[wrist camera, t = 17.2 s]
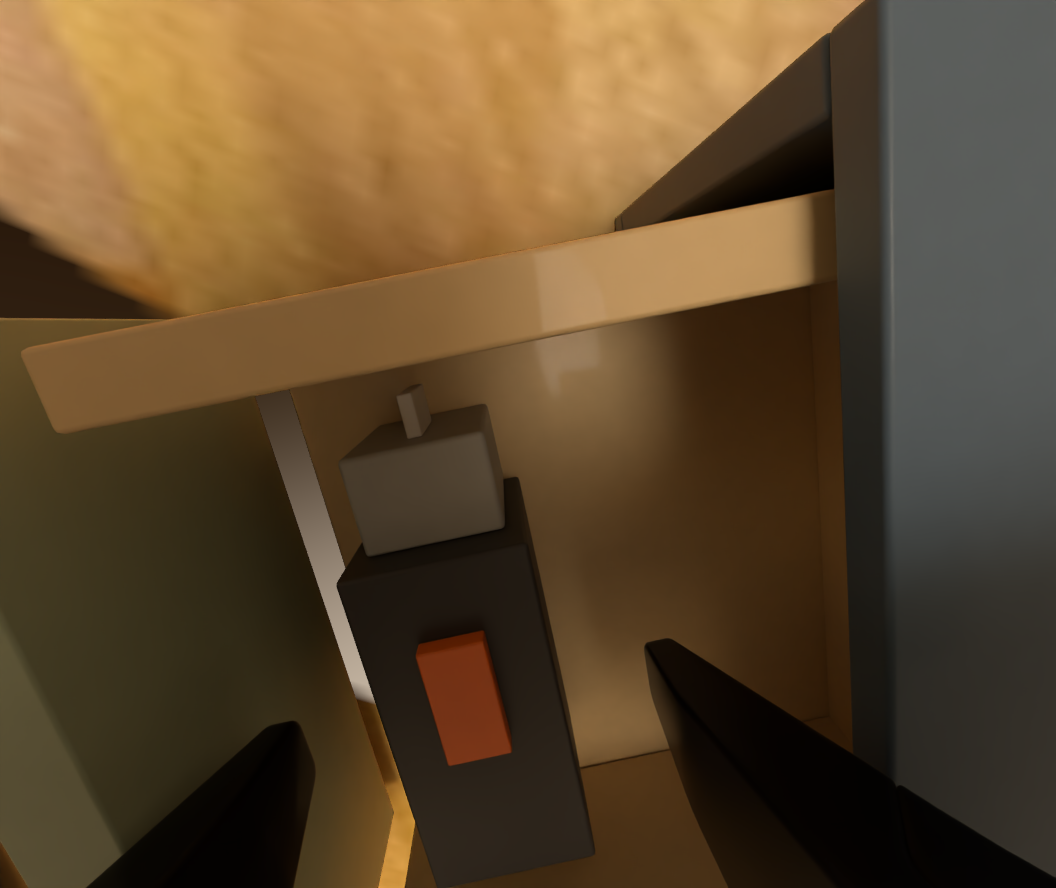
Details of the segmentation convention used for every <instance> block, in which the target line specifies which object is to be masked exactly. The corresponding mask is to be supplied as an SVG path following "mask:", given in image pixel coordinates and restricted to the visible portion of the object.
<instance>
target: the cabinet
mask: <svg viewBox="0 0 1056 888" xmlns="http://www.w3.org/2000/svg"><path fill="white" fill-rule="evenodd" d="M830 189H834V193H835V223H836V254H837V284H838V315H839V345H840V376H841V406H842V436H843V467H844V497H845V528H846V558H847V589H848V619H849V650H850V680H851V711H852V741H853V755H855V756H857V757H858V758H860V759H861V760H863V761H864V762H866V763H868V764H869V765H871V766H872V767H874V768H875V769H877V770H879V771H880V772H882V773H883V774H885V775H886V776H888V777H890V778H891V779H893V780H894V782H895V784H896V788H897V786H898V785H902V786H904V787H906V788H907V789H909V790H910V791H912V792H914V793H915V794H917V795H918V796H920V797H921V798H923V799H925V800H926V801H928V802H929V803H931V804H933V805H934V806H936V807H937V808H939V809H940V810H942V811H944V812H945V813H947V814H949V815H950V816H952V817H954V818H955V819H957V820H958V821H960V822H962V823H963V824H965V825H967V826H968V827H970V828H972V829H973V830H975V831H976V832H978V833H980V834H981V835H983V836H985V837H986V838H988V839H989V840H991V841H993V842H994V843H996V844H998V845H999V846H1001V847H1003V848H1004V849H1006V850H1008V851H1010V852H1011V853H1013V854H1015V855H1017V856H1018V857H1020V858H1022V859H1024V860H1025V861H1027V862H1029V863H1031V864H1033V865H1034V866H1036V867H1038V868H1040V869H1041V870H1043V871H1045V872H1047V873H1048V874H1050V875H1052V876H1054V877H1055V878H1056V0H865V1H864V2H862V3H861V4H860V5H859V6H858V7H857V8H856V9H854V10H853V11H852V12H851V13H850V14H849V15H848V16H846V17H845V18H844V19H843V20H842V21H841V22H840V23H838V24H837V25H836V26H835V27H834V28H833V30H832V32H831V33H827V34H826V35H824V36H823V37H822V38H820V39H819V40H818V41H817V42H816V43H815V44H814V45H812V46H811V47H810V48H809V49H808V50H807V51H806V52H804V53H803V54H802V55H801V56H800V57H799V58H798V59H796V60H795V61H794V62H793V63H792V64H791V65H790V66H788V67H787V68H786V69H785V70H784V71H783V72H782V73H780V74H779V75H778V76H777V77H776V78H775V79H774V80H772V81H771V82H770V83H769V84H768V85H767V86H766V87H765V88H763V89H762V90H761V91H760V92H759V93H758V94H757V95H755V96H754V97H753V98H752V99H751V100H750V101H749V102H747V103H746V104H745V105H744V106H743V107H742V108H741V109H739V110H738V111H737V112H736V113H735V114H734V115H733V116H731V117H730V118H729V119H728V120H727V121H726V122H725V123H723V124H722V125H721V126H720V127H719V128H718V129H717V130H715V131H714V132H713V133H712V134H711V135H710V136H709V137H708V138H706V139H705V140H704V141H703V142H702V143H701V144H700V145H698V146H697V147H696V148H695V149H694V150H693V151H692V152H690V153H689V154H688V155H687V156H686V157H685V158H684V159H682V160H681V161H680V162H679V163H678V164H677V165H676V166H674V167H673V168H672V169H671V170H670V171H669V172H668V173H666V174H665V175H664V176H663V177H662V178H661V179H660V180H658V181H657V182H656V183H655V184H654V185H653V186H652V187H651V188H649V189H648V190H647V191H646V192H645V193H644V194H643V195H641V196H640V197H639V198H638V199H637V200H636V201H635V202H633V203H632V204H631V205H630V206H629V207H628V208H627V209H625V210H624V211H623V212H622V213H621V214H620V215H619V216H618V217H617V218H616V219H615V225H616V232H617V231H622V230H627V229H632V228H637V227H642V226H648V225H653V224H658V223H663V222H668V221H673V220H678V219H683V218H688V217H693V216H698V215H703V214H708V213H714V212H719V211H724V210H729V209H734V208H739V207H744V206H749V205H754V204H759V203H764V202H769V201H775V200H780V199H785V198H790V197H795V196H800V195H805V194H810V193H815V192H820V191H825V190H830Z"/></svg>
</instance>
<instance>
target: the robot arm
mask: <svg viewBox="0 0 1056 888" xmlns="http://www.w3.org/2000/svg"><path fill="white" fill-rule="evenodd" d="M644 654H645V661H646V667H647V673H648V680H649V686H650V691H651V695H652V699H653V702H654V705H655V708H656V711H657V714H658V717H659V720H660V722H661V725H662V728H663V731H664V734H665V736H666V739H667V742H668V745H669V748H670V751H671V753H672V756H673V759H674V762H675V765H676V768H677V770H678V773H679V776H680V779H681V782H682V785H683V787H684V790H685V793H686V795H687V798H688V801H689V803H690V806H691V808H692V811H693V813H694V815H695V818H696V820H697V822H698V824H699V827H700V829H701V831H702V833H703V835H704V837H705V840H706V842H707V844H708V846H709V848H710V850H711V852H712V854H713V857H714V859H715V861H716V863H717V865H718V867H719V869H720V871H721V873H722V876H723V878H724V880H725V882H726V884H727V886H728V888H1056V878H1055V877H1054V876H1052V875H1050V874H1048V873H1047V872H1045V871H1043V870H1041V869H1040V868H1038V867H1036V866H1034V865H1033V864H1031V863H1029V862H1027V861H1025V860H1024V859H1022V858H1020V857H1018V856H1017V855H1015V854H1013V853H1011V852H1010V851H1008V850H1006V849H1004V848H1003V847H1001V846H999V845H998V844H996V843H994V842H993V841H991V840H989V839H988V838H986V837H985V836H983V835H981V834H980V833H978V832H976V831H975V830H973V829H972V828H970V827H968V826H967V825H965V824H963V823H962V822H960V821H958V820H957V819H955V818H954V817H952V816H950V815H949V814H947V813H945V812H944V811H942V810H940V809H939V808H937V807H936V806H934V805H933V804H931V803H929V802H928V801H926V800H925V799H923V798H921V797H920V796H918V795H917V794H915V793H914V792H912V791H910V790H909V789H907V788H906V787H904V786H902V785H898V786H897V788H896V784H895V782H894V780H893V779H891V778H890V777H888V776H886V775H885V774H883V773H882V772H880V771H879V770H877V769H875V768H874V767H872V766H871V765H869V764H868V763H866V762H864V761H863V760H861V759H860V758H858V757H857V756H855V755H853V754H852V753H850V752H849V751H847V750H846V749H844V748H843V747H841V746H839V745H838V744H836V743H835V742H833V741H832V740H830V739H828V738H827V737H825V736H824V735H822V734H821V733H819V732H817V731H816V730H814V729H813V728H811V727H810V726H808V725H806V724H805V723H803V722H802V721H800V720H799V719H797V718H795V717H794V716H792V715H791V714H789V713H788V712H786V711H784V710H783V709H781V708H780V707H778V706H777V705H775V704H773V703H772V702H770V701H769V700H767V699H766V698H764V697H762V696H761V695H759V694H758V693H756V692H755V691H753V690H751V689H750V688H748V687H747V686H745V685H744V684H742V683H740V682H739V681H737V680H736V679H734V678H733V677H731V676H729V675H728V674H726V673H725V672H723V671H722V670H720V669H718V668H717V667H715V666H714V665H712V664H711V663H709V662H707V661H706V660H704V659H703V658H701V657H700V656H698V655H696V654H695V653H693V652H692V651H690V650H689V649H687V648H685V647H684V646H682V645H681V644H679V643H678V642H676V641H674V640H673V639H670V638H664V639H659V640H655V641H650V642H647V643H646V644H645V646H644ZM315 778H316V767H315V762H314V759H313V756H312V753H311V751H310V748H309V745H308V743H307V740H306V737H305V735H304V732H303V729H302V727H301V725H300V724H299V723H298V722H297V721H294V720H291V721H287V722H282V723H278V724H273V725H270V726H268V727H266V728H265V729H264V730H263V731H261V732H260V733H259V734H258V735H257V736H256V737H255V738H254V739H252V740H251V741H250V742H249V743H248V744H247V745H246V746H245V747H243V748H242V749H241V750H240V751H239V752H238V753H237V754H236V755H234V756H233V757H232V758H231V759H230V760H229V761H228V762H227V763H225V764H224V765H223V766H222V767H221V768H220V769H219V770H218V771H216V772H215V773H214V774H213V775H212V776H211V777H210V778H209V779H207V780H206V781H205V782H204V783H203V784H202V785H201V786H200V787H198V788H197V789H196V790H195V791H194V792H193V793H192V794H191V795H189V796H188V797H187V798H186V799H185V800H184V801H183V802H182V803H180V804H179V805H178V806H177V807H176V808H175V809H174V810H173V811H171V812H170V813H169V814H168V815H167V816H166V817H165V818H164V819H162V820H161V821H160V822H159V823H158V824H157V825H156V826H155V827H153V828H152V829H151V830H150V831H149V832H148V833H147V834H146V835H144V836H143V837H142V838H141V839H140V840H139V841H138V842H137V843H135V844H134V845H133V846H132V847H131V848H130V849H129V850H128V851H126V852H125V853H124V854H123V855H122V856H121V857H120V858H119V859H117V860H116V861H115V862H114V863H113V864H112V865H111V866H110V867H108V868H107V869H106V870H105V871H104V872H103V873H102V874H101V875H99V876H98V877H97V878H96V879H95V880H94V881H93V882H92V883H90V884H89V885H88V886H87V887H86V888H294V884H295V879H296V874H297V869H298V864H299V859H300V854H301V849H302V844H303V839H304V834H305V829H306V824H307V819H308V814H309V809H310V804H311V799H312V794H313V789H314V784H315Z"/></svg>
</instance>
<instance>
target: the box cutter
mask: <svg viewBox="0 0 1056 888" xmlns="http://www.w3.org/2000/svg"><path fill="white" fill-rule="evenodd" d="M396 398H397V402H398V406H399V410H400V413H401V417H402V421H398V422H394V423H389V424H384V425H380V426H379V427H377V428H376V429H375V430H374V431H373V432H372V433H370V434H369V435H368V436H367V437H366V438H365V439H364V440H362V441H361V442H360V443H359V444H358V445H357V446H356V447H354V448H353V449H352V450H351V451H350V452H349V453H348V454H347V455H345V456H344V457H343V458H342V459H341V460H340V461H339V464H338V466H339V469H340V472H341V476H342V479H343V482H344V485H345V489H346V492H347V495H348V498H349V501H350V505H351V508H352V511H353V514H354V517H355V521H356V524H357V527H358V530H359V533H360V537H361V540H362V543H361V544H360V546H359V548H358V549H357V551H356V553H355V554H354V556H353V557H352V559H351V561H350V562H349V564H348V566H347V567H346V569H345V571H344V572H343V574H342V575H341V577H340V579H339V580H338V582H337V589H338V592H339V595H340V598H341V601H342V604H343V607H344V610H345V613H346V616H347V619H348V622H349V625H350V628H351V631H352V634H353V637H354V640H355V643H356V646H357V649H358V652H359V655H360V658H361V661H362V664H363V667H364V670H365V673H366V676H367V679H368V682H369V685H370V688H371V691H372V694H373V697H374V700H375V703H376V706H377V709H378V712H379V715H380V718H381V721H382V724H383V727H384V730H385V733H386V736H387V739H388V742H389V745H390V748H391V751H392V754H393V757H394V760H395V763H396V766H397V769H398V772H399V775H400V778H401V781H402V784H403V787H404V790H405V793H406V796H407V799H408V802H409V805H410V808H411V811H412V814H413V817H414V820H415V823H416V826H417V829H418V832H419V835H420V838H421V841H422V844H423V847H424V850H425V853H426V856H427V859H428V862H429V865H430V868H431V871H432V874H433V877H434V880H435V883H436V886H437V888H449V887H454V886H459V885H463V884H468V883H472V882H477V881H481V880H486V879H490V878H495V877H499V876H504V875H508V874H513V873H517V872H522V871H526V870H531V869H535V868H540V867H545V866H549V865H554V864H558V863H563V862H567V861H572V860H576V859H581V858H585V857H590V856H593V855H595V845H594V840H593V834H592V829H591V824H590V818H589V813H588V808H587V802H586V797H585V792H584V786H583V781H582V776H581V770H580V765H579V760H578V754H577V749H576V743H575V738H574V733H573V727H572V722H571V717H570V712H569V707H568V702H567V698H566V693H565V689H564V684H563V679H562V675H561V670H560V666H559V661H558V656H557V652H556V647H555V642H554V638H553V633H552V629H551V624H550V619H549V615H548V610H547V606H546V601H545V596H544V592H543V587H542V582H541V578H540V573H539V569H538V564H537V559H536V555H535V550H534V545H533V541H532V536H531V532H530V527H529V522H528V518H527V513H526V509H525V504H524V499H523V495H522V490H521V485H520V481H519V478H518V477H512V478H507V479H503V473H502V468H501V464H500V459H499V455H498V450H497V446H496V441H495V437H494V433H493V428H492V424H491V419H490V415H489V410H488V407H487V405H486V404H479V405H475V406H470V407H465V408H460V409H456V410H451V411H446V412H441V413H437V414H432V415H430V412H429V408H428V404H427V400H426V396H425V392H424V388H423V385H422V384H416V385H411V386H409V387H408V388H407V389H405V390H404V391H402V392H401V393H400V394H398V395H397V396H396Z"/></svg>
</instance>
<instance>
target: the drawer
mask: <svg viewBox="0 0 1056 888" xmlns="http://www.w3.org/2000/svg"><path fill="white" fill-rule="evenodd" d="M416 384H422V385H423V388H424V392H425V396H426V400H427V404H428V408H429V412H430V415H432V414H437V413H441V412H446V411H451V410H456V409H460V408H465V407H470V406H475V405H479V404H486V405H487V407H488V410H489V415H490V419H491V424H492V428H493V433H494V437H495V441H496V446H497V450H498V455H499V459H500V464H501V468H502V473H503V479H507V478H512V477H518V478H519V481H520V485H521V490H522V495H523V499H524V504H525V509H526V513H527V518H528V522H529V527H530V532H531V536H532V541H533V545H534V550H535V555H536V559H537V564H538V569H539V573H540V578H541V582H542V587H543V592H544V596H545V601H546V606H547V610H548V615H549V619H550V624H551V629H552V633H553V638H554V642H555V647H556V652H557V656H558V661H559V666H560V670H561V675H562V679H563V684H564V689H565V693H566V698H567V702H568V707H569V712H570V717H571V722H572V727H573V733H574V738H575V743H576V749H577V754H578V760H579V765H580V770H581V776H582V781H583V786H584V792H585V797H586V802H587V808H588V813H589V818H590V824H591V829H592V834H593V840H594V845H595V855H593V856H590V857H585V858H581V859H576V860H572V861H567V862H563V863H558V864H554V865H549V866H545V867H540V868H535V869H531V870H526V871H522V872H517V873H513V874H508V875H504V876H499V877H495V878H490V879H486V880H481V881H477V882H472V883H468V884H463V885H459V886H454V887H449V888H728V886H727V884H726V882H725V880H724V878H723V876H722V873H721V871H720V869H719V867H718V865H717V863H716V861H715V859H714V857H713V854H712V852H711V850H710V848H709V846H708V844H707V842H706V840H705V837H704V835H703V833H702V831H701V829H700V827H699V824H698V822H697V820H696V818H695V815H694V813H693V811H692V808H691V806H690V803H689V801H688V798H687V795H686V793H685V790H684V787H683V785H682V782H681V779H680V776H679V773H678V770H677V768H676V765H675V762H674V759H673V756H672V753H671V751H670V748H669V745H668V742H667V739H666V736H665V734H664V731H663V728H662V725H661V722H660V720H659V717H658V714H657V711H656V708H655V705H654V702H653V699H652V695H651V691H650V686H649V680H648V673H647V667H646V661H645V654H644V646H645V644H646V643H647V642H650V641H655V640H659V639H664V638H670V639H673V640H674V641H676V642H678V643H679V644H681V645H682V646H684V647H685V648H687V649H689V650H690V651H692V652H693V653H695V654H696V655H698V656H700V657H701V658H703V659H704V660H706V661H707V662H709V663H711V664H712V665H714V666H715V667H717V668H718V669H720V670H722V671H723V672H725V673H726V674H728V675H729V676H731V677H733V678H734V679H736V680H737V681H739V682H740V683H742V684H744V685H745V686H747V687H748V688H750V689H751V690H753V691H755V692H756V693H758V694H759V695H761V696H762V697H764V698H766V699H767V700H769V701H770V702H772V703H773V704H775V705H777V706H778V707H780V708H781V709H783V710H784V711H786V712H788V713H789V714H791V715H792V716H794V717H795V718H797V719H799V720H800V721H802V722H803V723H805V724H806V725H808V726H810V727H811V728H813V729H814V730H816V731H817V732H819V733H821V734H822V735H824V736H825V737H827V738H828V739H830V740H832V741H833V742H835V743H836V744H838V745H839V746H841V747H843V748H844V749H846V750H847V751H849V752H850V753H852V754H853V741H852V711H851V680H850V650H849V619H848V589H847V558H846V528H845V497H844V467H843V436H842V406H841V376H840V345H839V315H838V284H837V254H836V223H835V193H834V189H830V190H825V191H820V192H815V193H810V194H805V195H800V196H795V197H790V198H785V199H780V200H775V201H769V202H764V203H759V204H754V205H749V206H744V207H739V208H734V209H729V210H724V211H719V212H714V213H708V214H703V215H698V216H693V217H688V218H683V219H678V220H673V221H668V222H663V223H658V224H653V225H648V226H642V227H637V228H632V229H627V230H622V231H617V232H612V233H607V234H602V235H597V236H592V237H587V238H581V239H576V240H571V241H566V242H561V243H556V244H551V245H546V246H541V247H536V248H531V249H526V250H520V251H515V252H510V253H505V254H500V255H495V256H490V257H485V258H480V259H475V260H470V261H465V262H459V263H454V264H449V265H444V266H439V267H434V268H429V269H424V270H419V271H414V272H409V273H404V274H398V275H393V276H388V277H383V278H378V279H373V280H368V281H363V282H358V283H353V284H348V285H343V286H338V287H332V288H327V289H322V290H317V291H312V292H307V293H302V294H297V295H292V296H287V297H282V298H277V299H271V300H266V301H261V302H256V303H251V304H246V305H241V306H236V307H231V308H226V309H221V310H216V311H210V312H205V313H200V314H195V315H190V316H185V317H180V318H175V319H170V320H164V319H51V318H50V319H48V318H43V319H42V318H0V888H86V887H87V886H88V885H89V884H90V883H92V882H93V881H94V880H95V879H96V878H97V877H98V876H99V875H101V874H102V873H103V872H104V871H105V870H106V869H107V868H108V867H110V866H111V865H112V864H113V863H114V862H115V861H116V860H117V859H119V858H120V857H121V856H122V855H123V854H124V853H125V852H126V851H128V850H129V849H130V848H131V847H132V846H133V845H134V844H135V843H137V842H138V841H139V840H140V839H141V838H142V837H143V836H144V835H146V834H147V833H148V832H149V831H150V830H151V829H152V828H153V827H155V826H156V825H157V824H158V823H159V822H160V821H161V820H162V819H164V818H165V817H166V816H167V815H168V814H169V813H170V812H171V811H173V810H174V809H175V808H176V807H177V806H178V805H179V804H180V803H182V802H183V801H184V800H185V799H186V798H187V797H188V796H189V795H191V794H192V793H193V792H194V791H195V790H196V789H197V788H198V787H200V786H201V785H202V784H203V783H204V782H205V781H206V780H207V779H209V778H210V777H211V776H212V775H213V774H214V773H215V772H216V771H218V770H219V769H220V768H221V767H222V766H223V765H224V764H225V763H227V762H228V761H229V760H230V759H231V758H232V757H233V756H234V755H236V754H237V753H238V752H239V751H240V750H241V749H242V748H243V747H245V746H246V745H247V744H248V743H249V742H250V741H251V740H252V739H254V738H255V737H256V736H257V735H258V734H259V733H260V732H261V731H263V730H264V729H265V728H266V727H268V726H270V725H273V724H278V723H282V722H287V721H291V720H294V721H297V722H298V723H299V724H300V725H301V727H302V729H303V732H304V735H305V737H306V740H307V743H308V745H309V748H310V751H311V753H312V756H313V759H314V762H315V767H316V778H315V784H314V789H313V794H312V799H311V804H310V809H309V814H308V819H307V824H306V829H305V834H304V839H303V844H302V849H301V854H300V859H299V864H298V869H297V874H296V879H295V884H294V888H378V886H379V881H380V876H381V871H382V866H383V862H384V857H385V852H386V847H387V843H388V838H389V833H390V828H391V824H392V819H393V814H394V811H393V808H392V805H391V802H390V799H389V796H388V793H387V790H386V787H385V784H384V781H383V778H382V775H381V772H380V769H379V766H378V763H377V760H376V757H375V754H374V751H373V748H372V745H371V742H370V739H369V736H368V733H367V730H366V727H365V724H364V721H363V718H362V715H361V712H360V709H359V706H358V703H357V700H356V697H355V694H354V691H353V688H352V685H351V682H350V679H349V677H348V674H347V671H346V668H345V665H344V662H343V658H342V656H341V653H340V650H339V647H338V644H337V641H336V638H335V635H334V632H333V629H332V626H331V623H330V620H329V617H328V614H327V611H326V608H325V605H324V602H323V599H322V596H321V593H320V590H319V587H318V584H317V581H316V578H315V575H314V572H313V569H312V566H311V563H310V560H309V557H308V554H307V551H306V548H305V545H304V542H303V539H302V536H301V533H300V530H299V527H298V524H297V521H296V518H295V515H294V512H293V509H292V506H291V503H290V500H289V497H288V494H287V491H286V488H285V485H284V482H283V479H282V476H281V473H280V470H279V467H278V464H277V461H276V458H275V455H274V452H273V449H272V446H271V443H270V440H269V438H268V434H267V431H266V428H265V425H264V422H263V419H262V416H261V413H260V410H259V407H258V404H257V402H256V398H255V396H259V395H264V394H269V393H273V392H279V391H284V390H290V394H291V397H292V400H293V403H294V406H295V409H296V413H297V416H298V419H299V422H300V425H301V429H302V432H303V435H304V438H305V441H306V444H307V448H308V451H309V454H310V457H311V460H312V463H313V466H314V469H315V473H316V476H317V479H318V482H319V485H320V489H321V492H322V495H323V498H324V501H325V505H326V508H327V511H328V514H329V517H330V520H331V524H332V527H333V530H334V533H335V536H336V539H337V543H338V546H339V549H340V552H341V555H342V559H343V562H344V565H345V568H346V567H347V566H348V564H349V562H350V561H351V559H352V557H353V556H354V554H355V553H356V551H357V549H358V548H359V546H360V544H361V543H362V540H361V537H360V533H359V530H358V527H357V524H356V521H355V517H354V514H353V511H352V508H351V505H350V501H349V498H348V495H347V492H346V489H345V485H344V482H343V479H342V476H341V472H340V469H339V466H338V464H339V461H340V460H341V459H342V458H343V457H344V456H345V455H347V454H348V453H349V452H350V451H351V450H352V449H353V448H354V447H356V446H357V445H358V444H359V443H360V442H361V441H362V440H364V439H365V438H366V437H367V436H368V435H369V434H370V433H372V432H373V431H374V430H375V429H376V428H377V427H379V426H380V425H384V424H389V423H394V422H398V421H402V417H401V413H400V410H399V406H398V402H397V398H396V396H397V395H398V394H400V393H401V392H402V391H404V390H405V389H407V388H408V387H409V386H411V385H416ZM405 888H437V886H436V883H435V880H434V877H433V874H432V871H431V868H430V865H429V862H428V859H427V856H426V853H425V850H424V847H423V844H422V841H421V838H420V835H419V832H418V829H417V826H416V823H415V828H414V835H413V841H412V847H411V853H410V859H409V865H408V872H407V878H406V884H405Z"/></svg>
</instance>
